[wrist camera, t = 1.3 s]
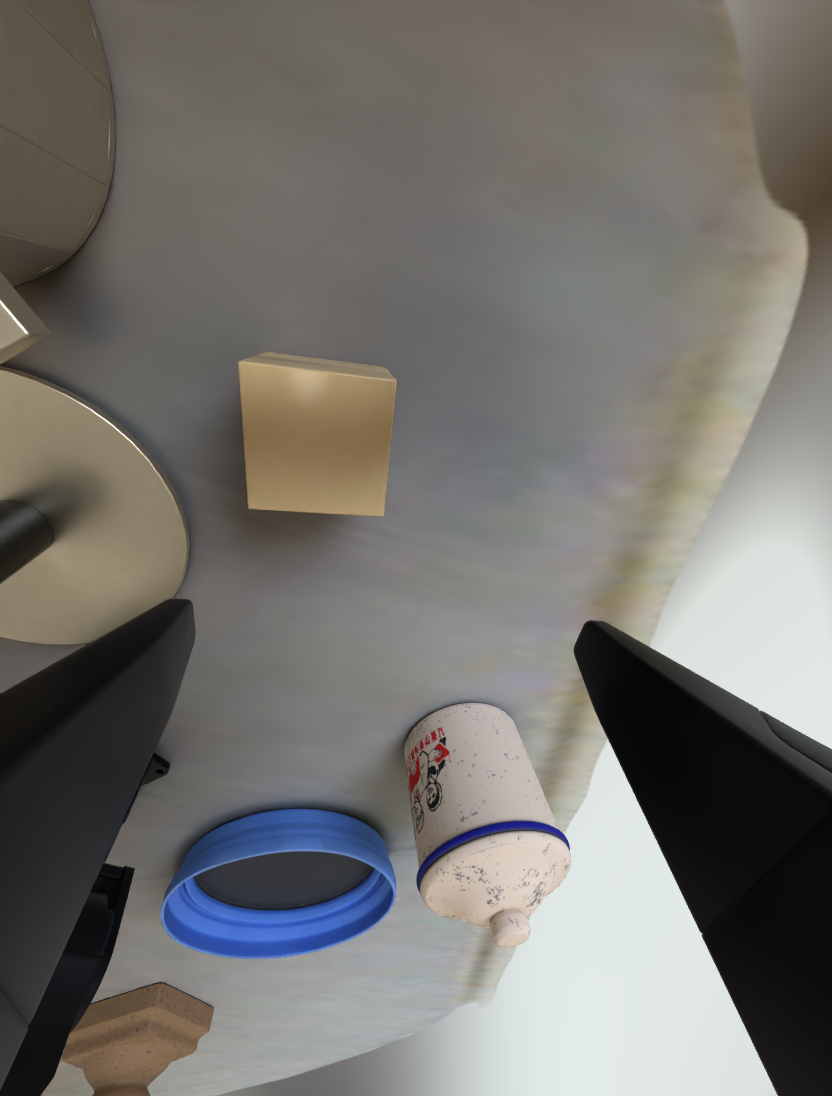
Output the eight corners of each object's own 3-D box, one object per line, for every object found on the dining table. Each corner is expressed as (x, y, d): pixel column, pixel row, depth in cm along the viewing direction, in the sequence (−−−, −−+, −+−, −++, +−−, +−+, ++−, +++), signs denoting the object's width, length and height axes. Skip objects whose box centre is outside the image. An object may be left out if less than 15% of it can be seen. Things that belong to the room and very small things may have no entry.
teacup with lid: (413, 695, 28) (450, 905, 18) (534, 699, 30) (628, 890, 20) (384, 799, 33) (400, 1007, 23) (488, 797, 35) (544, 986, 25)
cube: (376, 476, 20) (383, 517, 16) (270, 467, 19) (247, 509, 15) (385, 366, 18) (397, 380, 14) (265, 351, 17) (237, 360, 13)
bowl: (318, 769, 30) (315, 820, 27) (425, 861, 39) (432, 907, 36) (123, 861, 32) (100, 918, 29) (267, 929, 41) (260, 978, 38)
